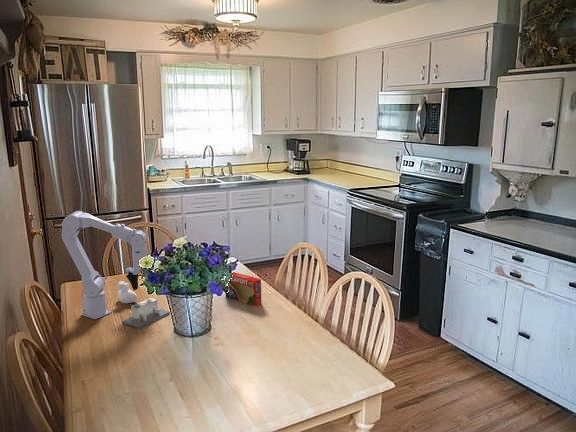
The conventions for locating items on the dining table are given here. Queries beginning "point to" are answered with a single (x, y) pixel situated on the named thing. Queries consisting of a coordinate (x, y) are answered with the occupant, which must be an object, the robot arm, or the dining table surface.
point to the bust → (126, 293)
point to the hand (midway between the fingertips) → (142, 290)
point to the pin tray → (146, 319)
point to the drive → (144, 309)
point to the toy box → (245, 289)
